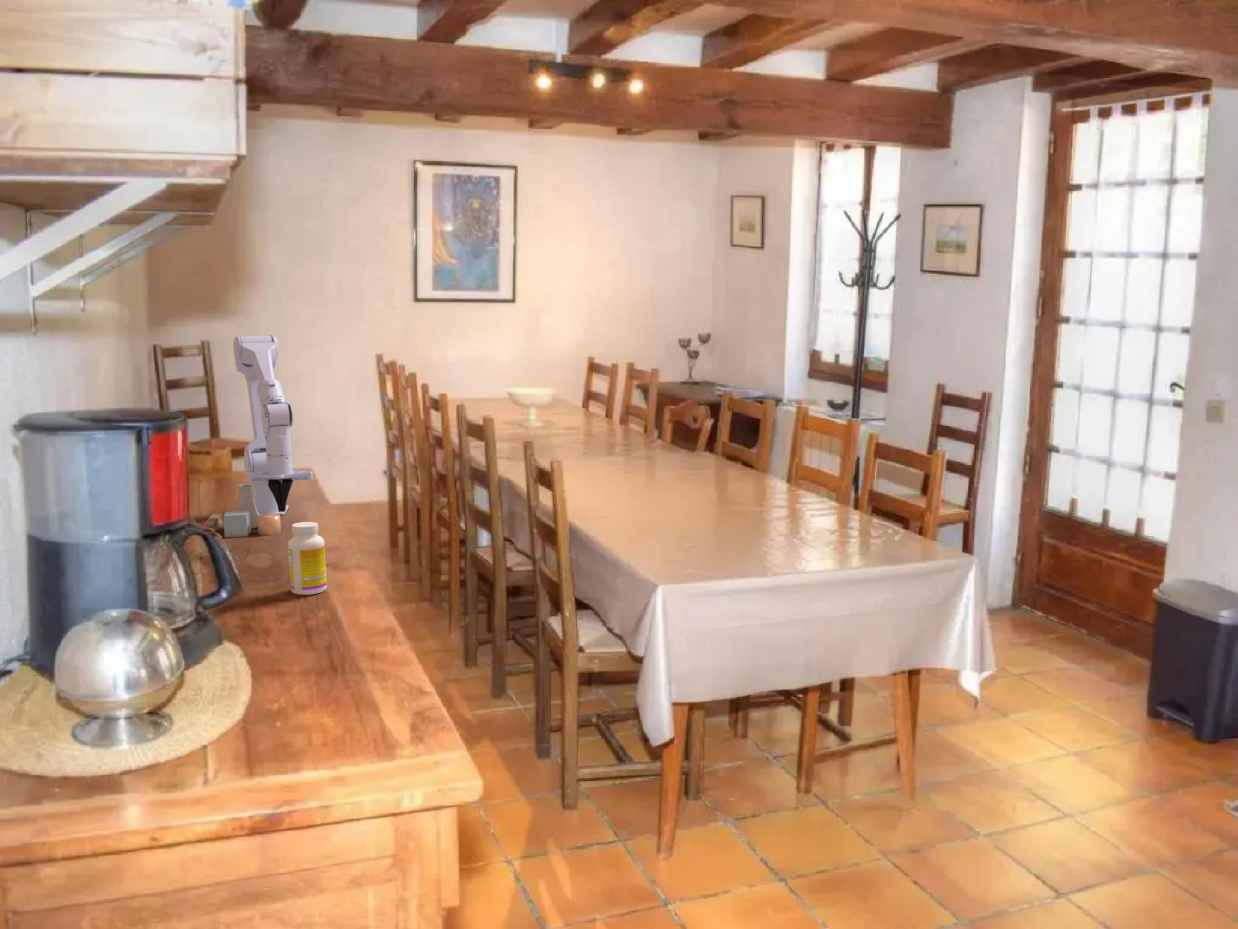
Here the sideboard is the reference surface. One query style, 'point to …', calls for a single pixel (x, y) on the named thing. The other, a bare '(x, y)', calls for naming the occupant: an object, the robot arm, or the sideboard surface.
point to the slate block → (237, 523)
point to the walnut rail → (214, 521)
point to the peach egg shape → (269, 524)
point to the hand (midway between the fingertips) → (282, 510)
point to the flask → (247, 503)
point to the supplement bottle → (307, 560)
